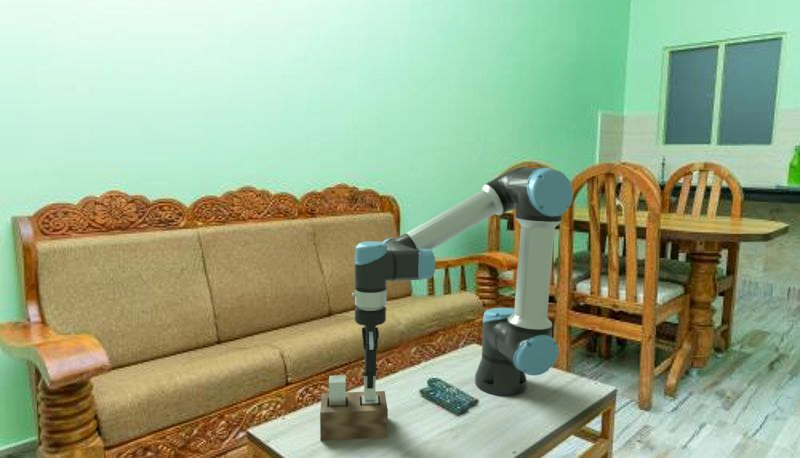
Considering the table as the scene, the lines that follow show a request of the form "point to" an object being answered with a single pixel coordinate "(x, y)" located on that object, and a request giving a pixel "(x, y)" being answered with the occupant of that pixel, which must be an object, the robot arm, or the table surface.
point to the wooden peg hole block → (353, 418)
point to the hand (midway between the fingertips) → (369, 398)
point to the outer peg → (337, 391)
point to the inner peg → (370, 401)
